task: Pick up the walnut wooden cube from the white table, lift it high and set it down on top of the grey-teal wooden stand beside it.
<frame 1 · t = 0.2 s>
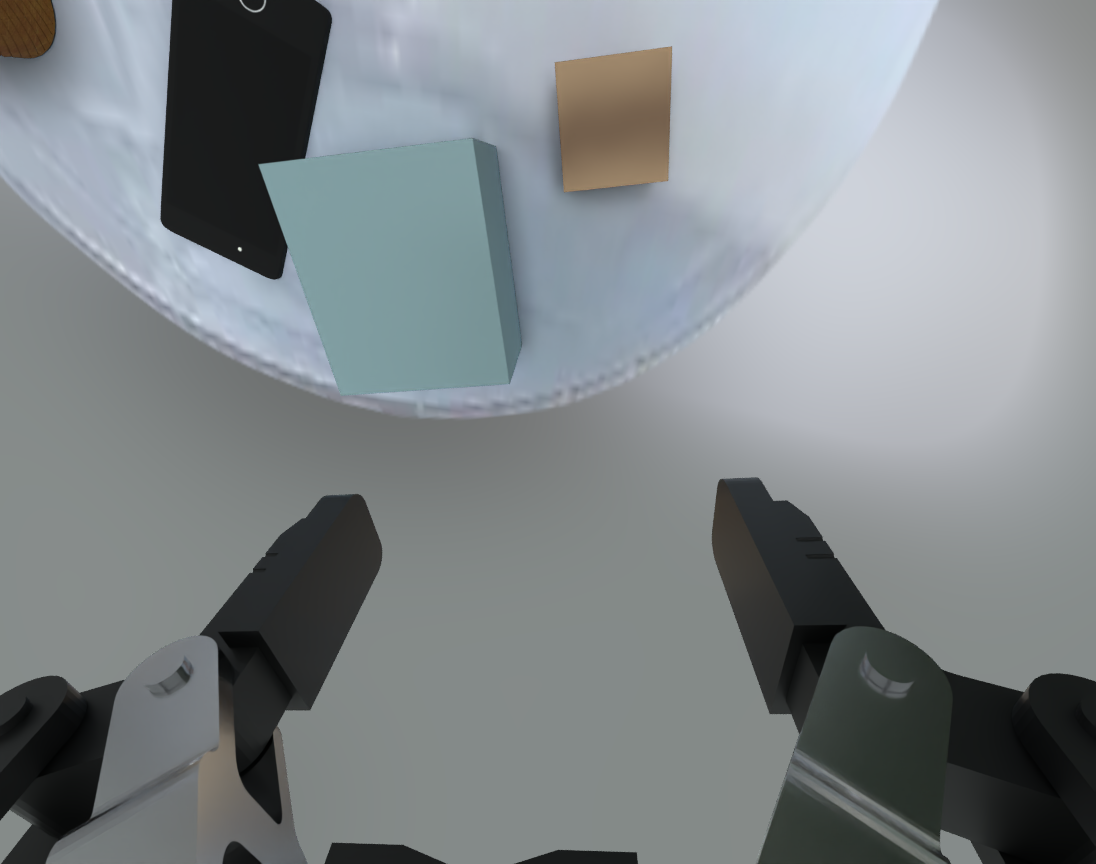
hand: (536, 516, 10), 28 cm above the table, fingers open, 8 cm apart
cell phone: (245, 131, 31), on the table
walnut cube: (607, 133, 30), on the table
stand: (433, 263, 34), on the table
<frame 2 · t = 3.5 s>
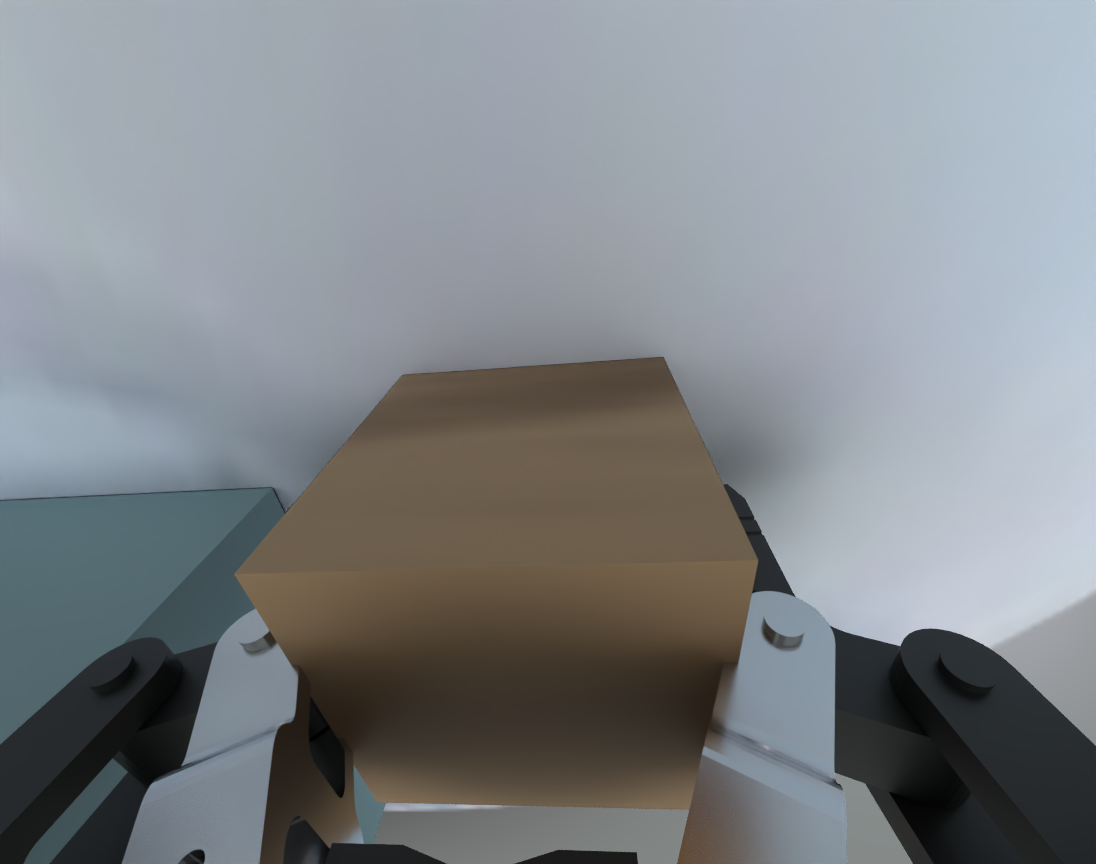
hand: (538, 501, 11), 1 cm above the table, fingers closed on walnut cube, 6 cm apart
walnut cube: (542, 473, 12), on the table, touching gripper
stand: (195, 647, 16), on the table
when the fingers open (11 cm above the table, at t = 9.1 s): walnut cube drops 1 cm, resting on stand.
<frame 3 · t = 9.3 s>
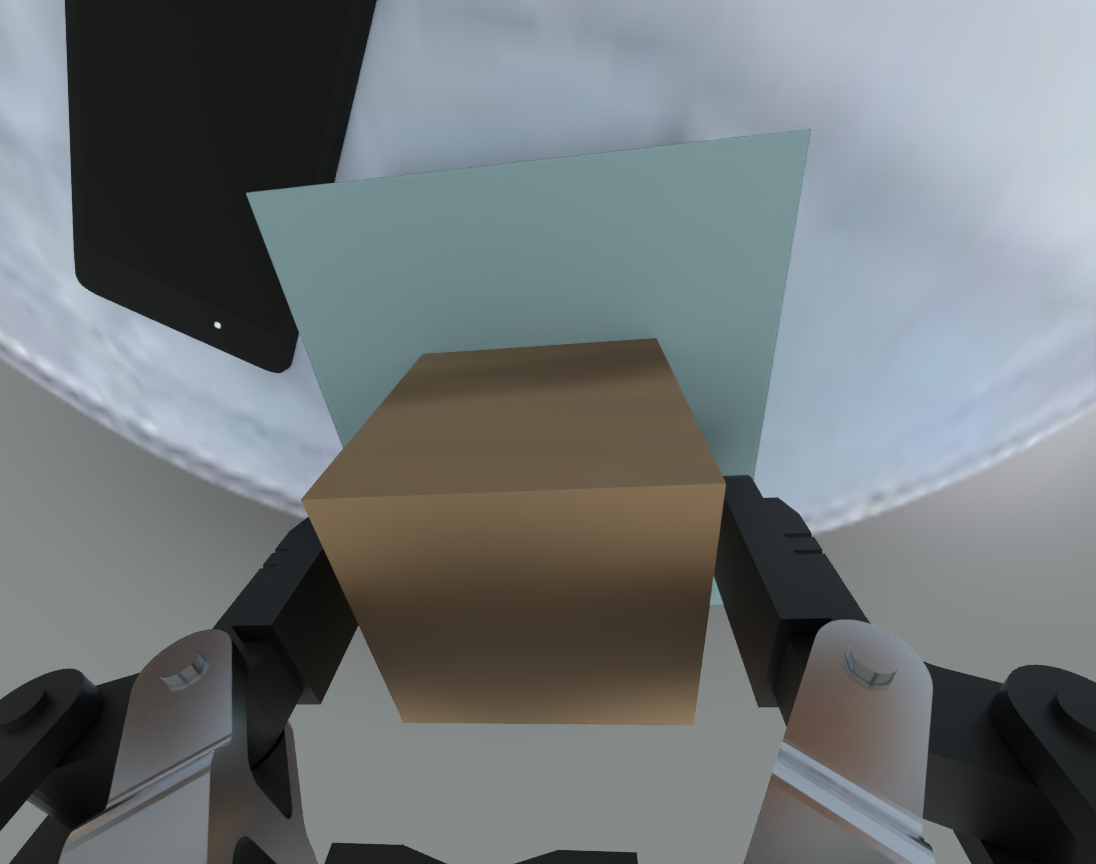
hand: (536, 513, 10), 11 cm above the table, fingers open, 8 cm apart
cell phone: (224, 116, 17), on the table
walnut cube: (547, 445, 13), point 8 cm above the table, touching stand
stand: (555, 349, 20), on the table
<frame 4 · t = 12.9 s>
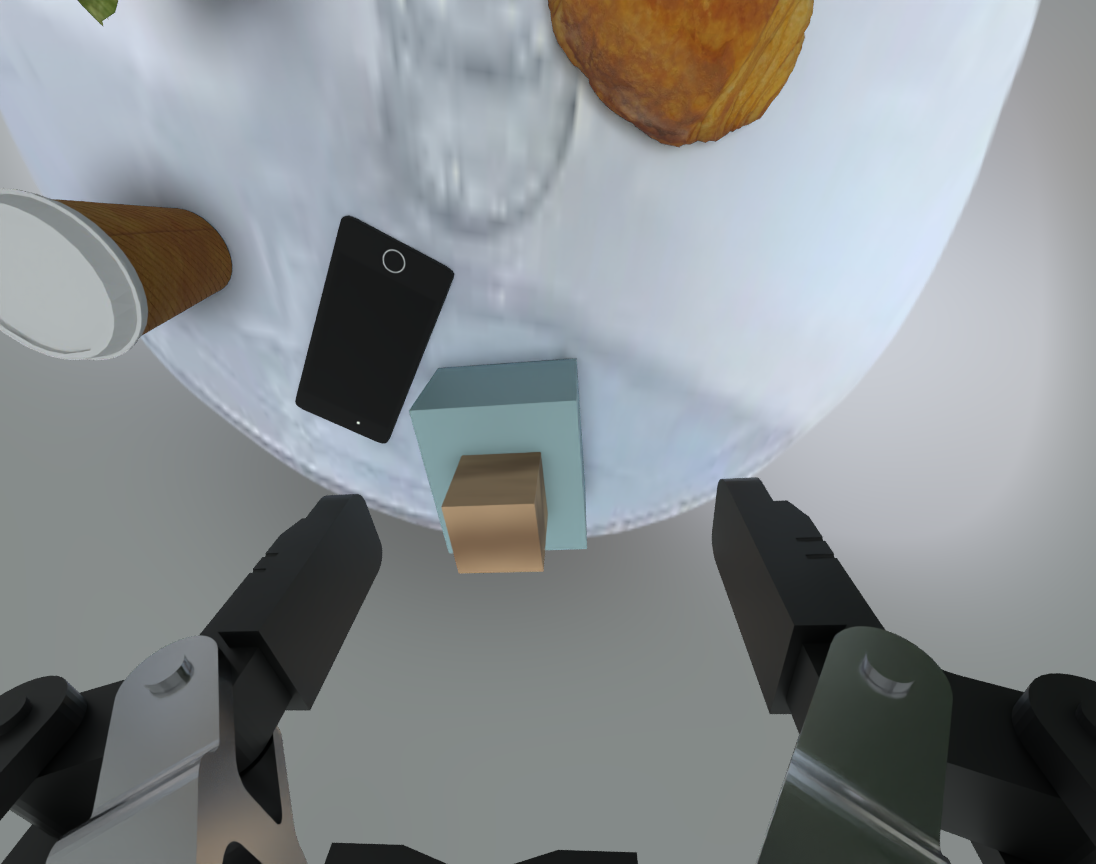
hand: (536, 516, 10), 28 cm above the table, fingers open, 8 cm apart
cell phone: (372, 340, 39), on the table
walnut cube: (506, 485, 35), point 8 cm above the table, touching stand
disposable coffee cup: (193, 252, 35), on the table
stand: (516, 433, 42), on the table
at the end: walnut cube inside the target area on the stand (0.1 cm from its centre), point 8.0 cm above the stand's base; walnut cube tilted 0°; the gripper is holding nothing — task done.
